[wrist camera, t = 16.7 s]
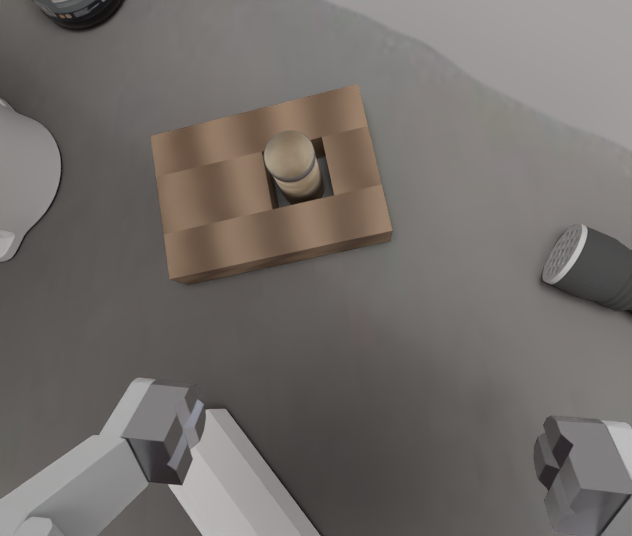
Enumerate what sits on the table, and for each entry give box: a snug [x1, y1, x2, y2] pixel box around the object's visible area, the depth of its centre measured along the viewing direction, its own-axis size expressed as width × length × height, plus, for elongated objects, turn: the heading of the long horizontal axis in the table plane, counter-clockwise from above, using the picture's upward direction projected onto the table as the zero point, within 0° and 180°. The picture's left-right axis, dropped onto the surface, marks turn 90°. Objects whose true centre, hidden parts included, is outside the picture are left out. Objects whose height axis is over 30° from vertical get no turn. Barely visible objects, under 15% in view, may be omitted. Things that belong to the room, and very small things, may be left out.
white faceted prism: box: [168, 409, 320, 536], centre depth 35 cm, size 7×7×24 cm
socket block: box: [151, 84, 393, 285], centre depth 40 cm, size 20×14×4 cm
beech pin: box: [264, 130, 324, 205], centre depth 38 cm, size 4×4×8 cm
